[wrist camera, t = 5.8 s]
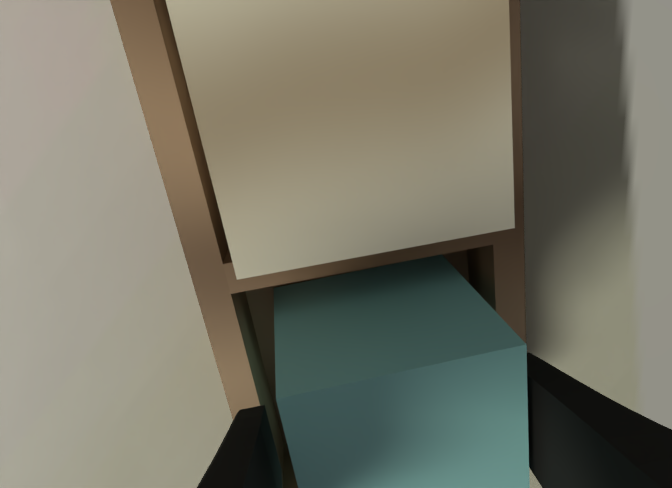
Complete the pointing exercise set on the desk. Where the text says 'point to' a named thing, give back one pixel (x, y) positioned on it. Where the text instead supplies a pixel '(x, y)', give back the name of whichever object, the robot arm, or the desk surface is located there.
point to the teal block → (400, 381)
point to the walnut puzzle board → (330, 153)
